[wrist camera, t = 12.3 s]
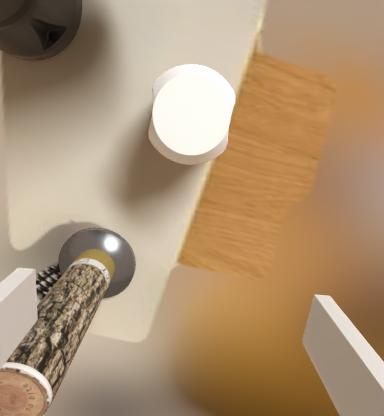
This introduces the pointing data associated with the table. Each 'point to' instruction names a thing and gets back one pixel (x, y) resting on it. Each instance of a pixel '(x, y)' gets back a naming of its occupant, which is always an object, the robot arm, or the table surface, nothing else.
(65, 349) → the paper tube
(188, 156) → the jar
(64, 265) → the stand
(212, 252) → the table surface
